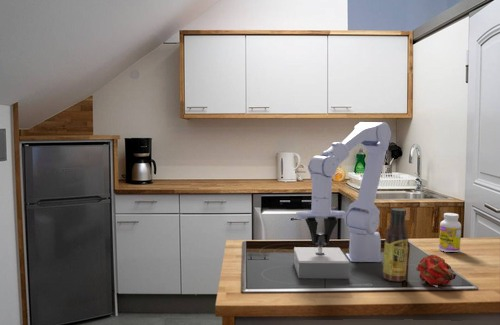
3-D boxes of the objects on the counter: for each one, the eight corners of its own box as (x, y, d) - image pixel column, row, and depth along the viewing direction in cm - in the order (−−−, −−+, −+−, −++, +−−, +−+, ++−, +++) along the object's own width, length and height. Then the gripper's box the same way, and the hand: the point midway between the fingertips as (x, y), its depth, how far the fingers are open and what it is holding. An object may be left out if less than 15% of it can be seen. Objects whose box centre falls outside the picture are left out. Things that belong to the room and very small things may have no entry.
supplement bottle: (434, 250, 162) (436, 213, 160) (445, 247, 165) (447, 211, 164) (453, 254, 156) (455, 217, 155) (463, 251, 160) (465, 214, 159)
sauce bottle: (394, 284, 127) (396, 212, 126) (377, 277, 133) (380, 208, 131) (411, 280, 130) (414, 210, 129) (395, 274, 136) (397, 206, 134)
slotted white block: (338, 263, 146) (339, 247, 145) (348, 278, 132) (348, 261, 131) (293, 262, 145) (294, 247, 145) (298, 278, 132) (299, 260, 131)
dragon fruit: (422, 281, 135) (448, 302, 123) (403, 266, 132) (428, 287, 121) (441, 258, 134) (469, 277, 123) (422, 243, 132) (449, 261, 120)
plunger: (335, 255, 144) (335, 229, 143) (342, 266, 133) (343, 238, 132) (299, 254, 144) (299, 229, 143) (303, 265, 133) (304, 238, 132)
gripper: (340, 194, 142) (339, 238, 143) (293, 195, 139) (293, 239, 141) (349, 198, 135) (347, 244, 136) (300, 199, 132) (299, 246, 134)
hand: (320, 242), depth 138 cm, fingers closed on plunger, 3 cm apart
